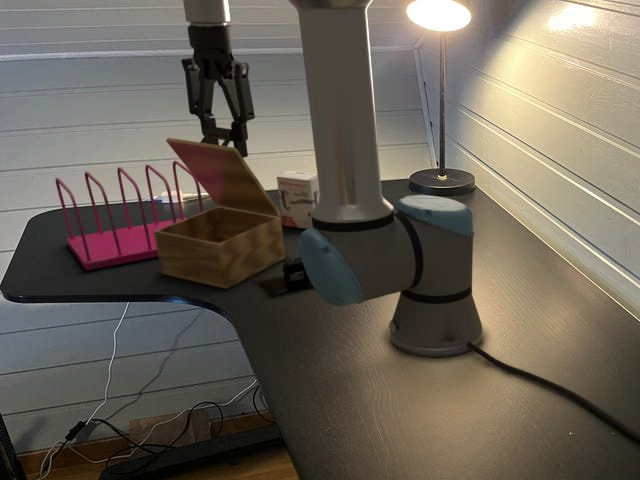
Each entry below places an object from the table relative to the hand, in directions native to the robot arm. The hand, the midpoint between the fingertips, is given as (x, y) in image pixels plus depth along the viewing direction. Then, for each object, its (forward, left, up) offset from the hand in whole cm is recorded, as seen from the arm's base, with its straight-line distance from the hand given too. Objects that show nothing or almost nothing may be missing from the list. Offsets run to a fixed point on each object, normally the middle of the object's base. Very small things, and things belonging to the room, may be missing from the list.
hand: (227, 155), depth 141 cm
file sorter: (+23, +5, -21) cm, 32 cm away
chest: (0, +5, -21) cm, 22 cm away
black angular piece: (-18, +6, -21) cm, 28 cm away
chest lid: (0, +2, -4) cm, 5 cm away
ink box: (+1, -22, -21) cm, 31 cm away
